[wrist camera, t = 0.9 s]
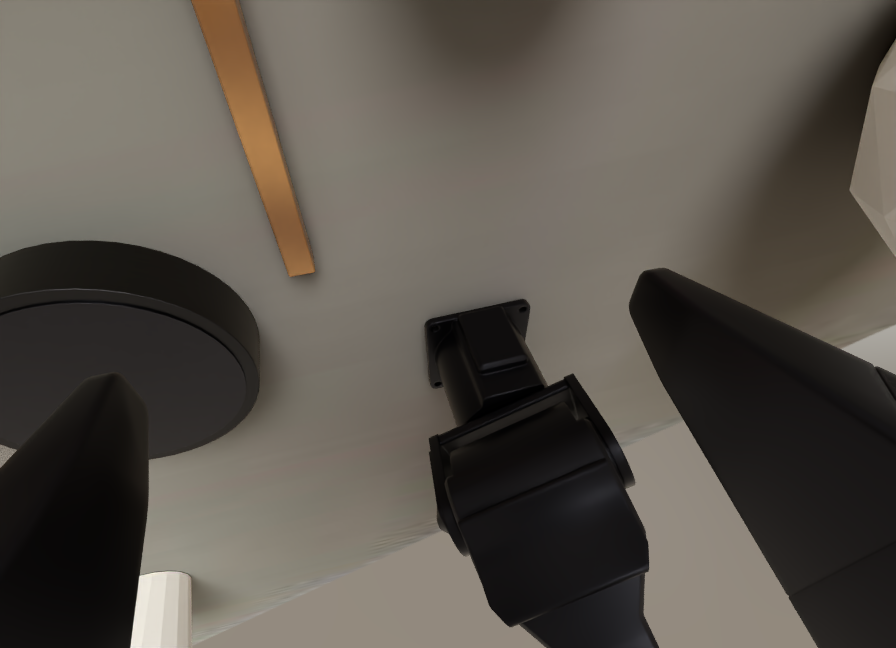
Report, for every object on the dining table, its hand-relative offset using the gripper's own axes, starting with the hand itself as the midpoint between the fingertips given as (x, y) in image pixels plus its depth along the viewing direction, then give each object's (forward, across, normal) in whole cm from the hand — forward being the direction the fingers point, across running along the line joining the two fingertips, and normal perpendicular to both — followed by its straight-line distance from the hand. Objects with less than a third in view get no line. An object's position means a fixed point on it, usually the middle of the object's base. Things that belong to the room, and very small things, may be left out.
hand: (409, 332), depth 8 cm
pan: (+13, +16, +11) cm, 23 cm away
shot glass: (+14, +23, +41) cm, 49 cm away
